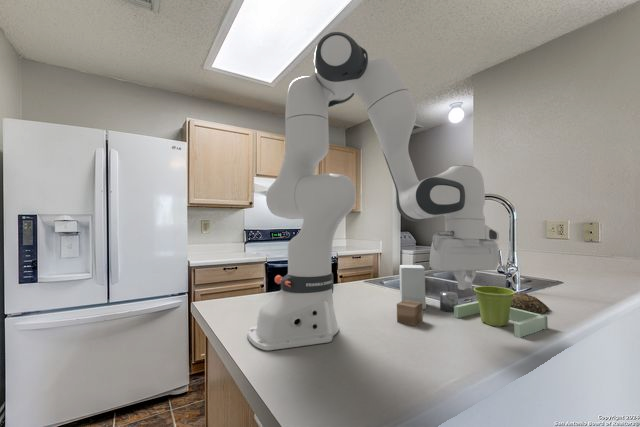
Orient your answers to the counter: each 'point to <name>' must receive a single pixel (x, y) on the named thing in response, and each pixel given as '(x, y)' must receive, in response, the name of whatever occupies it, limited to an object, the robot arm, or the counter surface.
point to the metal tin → (448, 301)
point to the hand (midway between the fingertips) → (465, 289)
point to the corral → (522, 327)
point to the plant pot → (494, 304)
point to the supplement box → (412, 283)
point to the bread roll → (528, 303)
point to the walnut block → (409, 312)
